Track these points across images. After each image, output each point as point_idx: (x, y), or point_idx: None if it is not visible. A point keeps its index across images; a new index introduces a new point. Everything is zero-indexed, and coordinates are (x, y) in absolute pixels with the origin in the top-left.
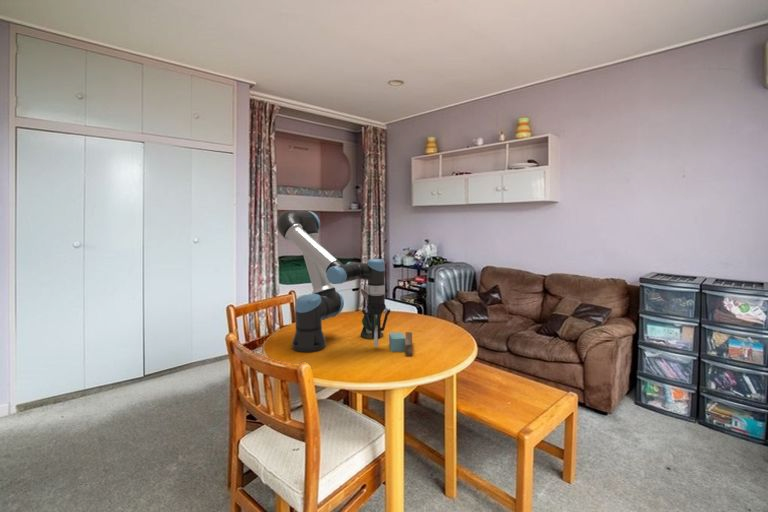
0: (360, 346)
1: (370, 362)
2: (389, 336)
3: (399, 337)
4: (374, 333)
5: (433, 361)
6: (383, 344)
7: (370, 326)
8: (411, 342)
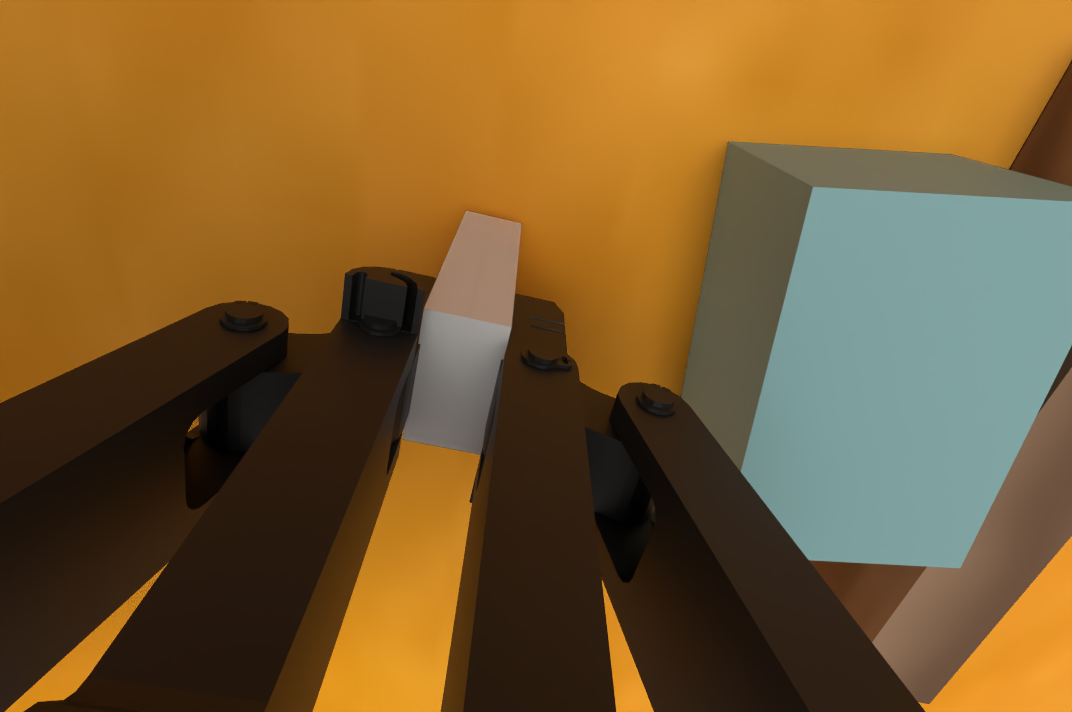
0: (229, 98)
1: (384, 638)
2: (773, 242)
3: (887, 513)
4: (411, 425)
5: (975, 706)
6: (645, 65)
7: (254, 379)
8: (970, 640)
